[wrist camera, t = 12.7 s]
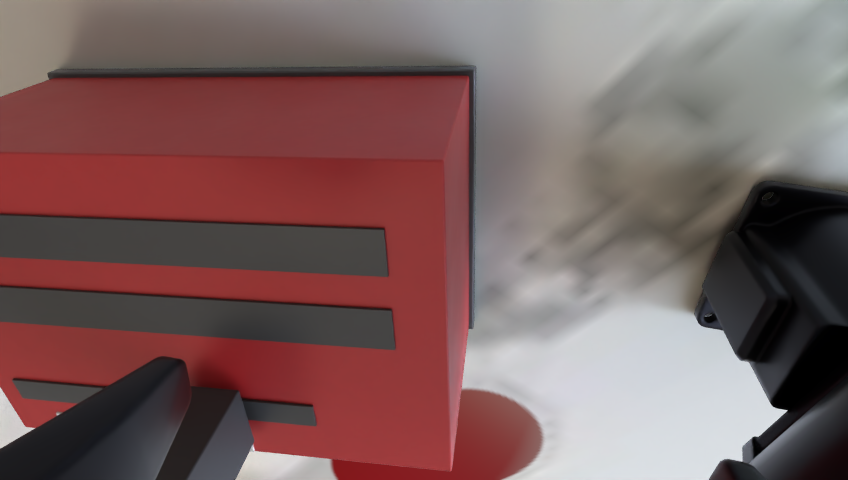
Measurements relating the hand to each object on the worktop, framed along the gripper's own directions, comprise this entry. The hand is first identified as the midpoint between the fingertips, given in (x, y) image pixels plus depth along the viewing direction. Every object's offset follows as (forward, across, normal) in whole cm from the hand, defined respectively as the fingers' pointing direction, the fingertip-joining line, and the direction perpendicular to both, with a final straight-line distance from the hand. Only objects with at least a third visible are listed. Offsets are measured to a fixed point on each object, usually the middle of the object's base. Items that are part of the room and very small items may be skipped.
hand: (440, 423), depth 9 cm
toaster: (+13, +8, +4) cm, 16 cm away
